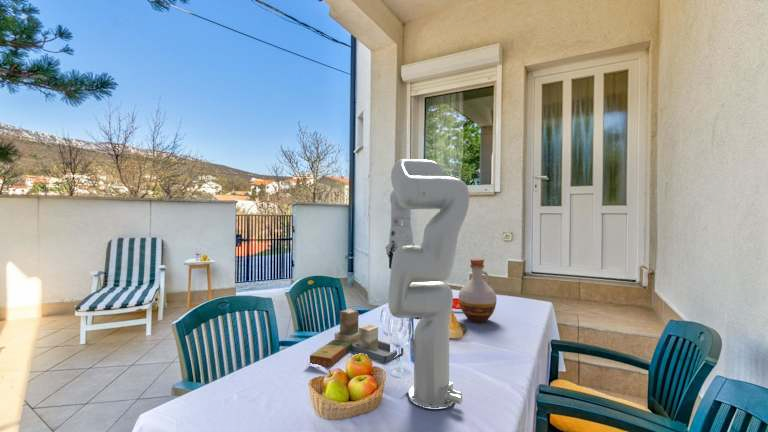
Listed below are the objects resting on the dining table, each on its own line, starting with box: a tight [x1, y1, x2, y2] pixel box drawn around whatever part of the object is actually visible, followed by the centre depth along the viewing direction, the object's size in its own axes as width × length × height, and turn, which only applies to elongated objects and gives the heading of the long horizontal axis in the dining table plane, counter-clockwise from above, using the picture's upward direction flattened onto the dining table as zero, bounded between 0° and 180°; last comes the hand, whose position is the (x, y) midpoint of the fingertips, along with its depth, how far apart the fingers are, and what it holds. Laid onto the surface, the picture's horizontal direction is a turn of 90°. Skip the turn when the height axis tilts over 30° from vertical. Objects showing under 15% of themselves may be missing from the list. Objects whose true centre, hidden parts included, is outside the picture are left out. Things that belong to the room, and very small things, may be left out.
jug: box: [458, 257, 497, 324], centre depth 161 cm, size 20×18×30 cm
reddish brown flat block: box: [309, 339, 352, 368], centre depth 114 cm, size 8×16×4 cm, turn 160°
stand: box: [334, 329, 359, 345], centre depth 127 cm, size 8×8×5 cm
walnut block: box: [339, 308, 359, 335], centre depth 127 cm, size 5×5×8 cm
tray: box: [350, 339, 404, 364], centre depth 118 cm, size 16×10×3 cm, turn 51°
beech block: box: [358, 324, 379, 351], centre depth 121 cm, size 5×5×8 cm
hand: (400, 267), depth 126 cm, fingers open, 9 cm apart
